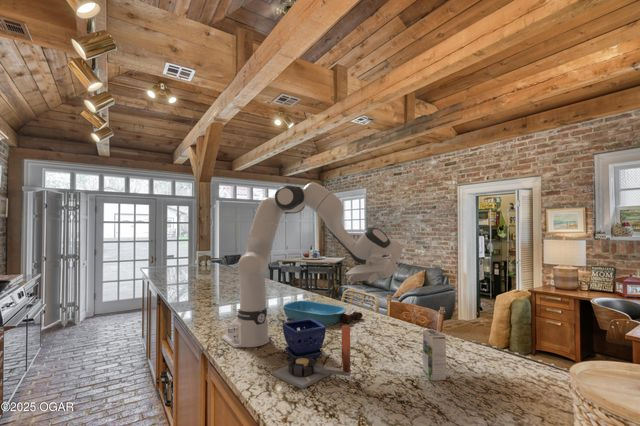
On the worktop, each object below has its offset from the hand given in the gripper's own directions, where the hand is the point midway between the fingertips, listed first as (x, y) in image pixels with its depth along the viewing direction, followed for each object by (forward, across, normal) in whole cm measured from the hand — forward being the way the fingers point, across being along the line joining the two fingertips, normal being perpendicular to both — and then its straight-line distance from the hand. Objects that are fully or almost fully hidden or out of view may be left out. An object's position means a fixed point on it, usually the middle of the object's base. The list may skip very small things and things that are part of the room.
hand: (358, 282), depth 115 cm
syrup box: (+2, +17, +36) cm, 39 cm away
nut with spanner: (+26, -8, +18) cm, 33 cm away
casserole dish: (-18, -60, +29) cm, 69 cm away
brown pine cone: (-28, -44, +37) cm, 64 cm away
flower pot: (+18, -25, +20) cm, 37 cm away
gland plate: (+29, -13, +18) cm, 36 cm away
